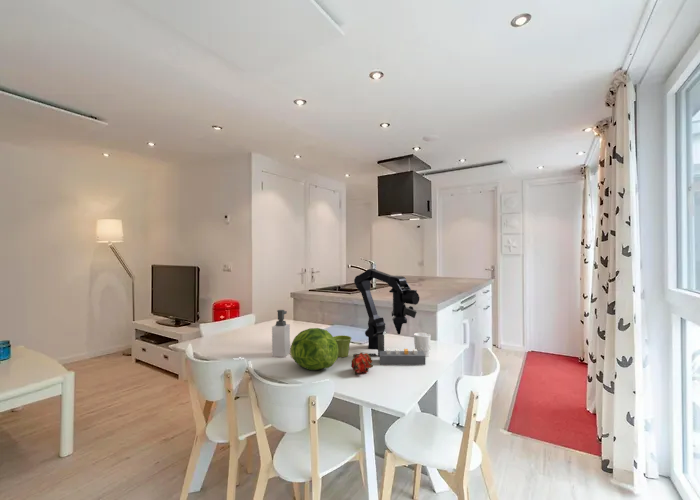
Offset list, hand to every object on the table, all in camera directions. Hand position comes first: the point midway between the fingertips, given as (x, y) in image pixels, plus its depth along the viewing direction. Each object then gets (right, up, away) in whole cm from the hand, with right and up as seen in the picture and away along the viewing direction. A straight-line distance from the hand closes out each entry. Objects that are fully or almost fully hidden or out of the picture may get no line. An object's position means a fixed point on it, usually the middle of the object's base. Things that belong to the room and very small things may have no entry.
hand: (398, 334), depth 162 cm
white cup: (+11, -10, -2) cm, 15 cm away
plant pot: (-28, -11, -1) cm, 30 cm away
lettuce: (-41, -11, -17) cm, 45 cm away
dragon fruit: (-19, -10, -24) cm, 32 cm away
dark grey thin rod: (-17, -10, -3) cm, 20 cm away
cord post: (-9, -10, -2) cm, 13 cm away
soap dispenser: (-58, -11, +2) cm, 59 cm away
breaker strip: (0, -10, -12) cm, 15 cm away
